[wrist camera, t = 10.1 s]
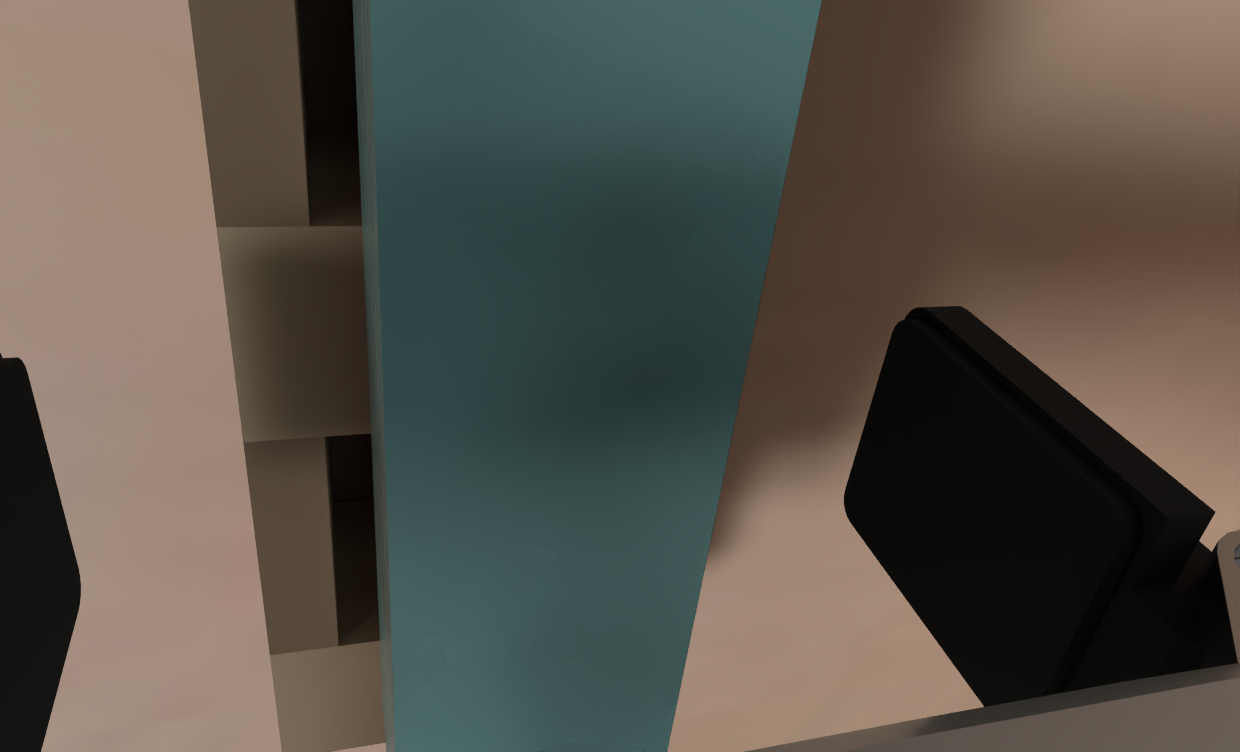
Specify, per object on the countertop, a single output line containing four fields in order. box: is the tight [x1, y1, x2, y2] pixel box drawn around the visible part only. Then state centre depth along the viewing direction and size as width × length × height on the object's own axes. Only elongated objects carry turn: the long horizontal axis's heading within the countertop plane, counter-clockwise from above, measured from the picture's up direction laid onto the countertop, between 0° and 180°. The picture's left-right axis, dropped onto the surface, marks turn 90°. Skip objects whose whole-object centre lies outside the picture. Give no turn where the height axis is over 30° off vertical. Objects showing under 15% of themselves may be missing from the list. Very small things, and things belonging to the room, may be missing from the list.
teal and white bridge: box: [352, 0, 822, 752], centre depth 12 cm, size 3×10×8 cm, turn 174°
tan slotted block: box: [188, 0, 386, 752], centre depth 14 cm, size 6×16×4 cm, turn 174°
